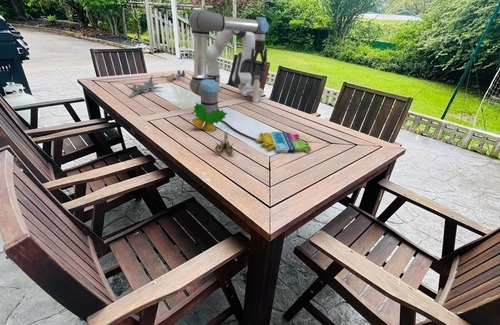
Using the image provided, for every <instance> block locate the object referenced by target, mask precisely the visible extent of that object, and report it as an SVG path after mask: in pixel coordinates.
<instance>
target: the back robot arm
mask: <svg viewBox="0 0 500 325" xmlns="http://www.w3.org/2000/svg"><path fill="white" fill-rule="evenodd" d="M255 34H256V33H255V32H245V31H232V30H223V31H218V32H217V34H216V36H215V38H214V41H213V43H212V44H211V45H207V76H208V77H209V80H213V81H215V82H216V83H217V85H218V92H220V91H222V87H221V80H220V79H221V75H220V65H219V62H218V61H219V60H218V58H220V57H221V56H222V55H223V52H224V51H225V48H226V47H227V45H228V43H229V42H230V40H231V39H232V38H233V37H234V36H235V37H238V38H240V39H242V48H241V50H240V52H239V53H238V54H237V57H236V61H235V65H234V69H233V73H232V76H231V81H232V83H233V84H234V85H238V86H237V88H238V90H239V91H238V92H239V93H240V94H241V96H244V97H251V96H253V95H254V94H253V83H254V77H253V75H252V73H251V72H241V68H242V64H243V63H244V62H245V61H246V60H248V59H251V52H252V51H251V49H253V48H255V40H256V39H255ZM254 54H255V51H254ZM264 92H265V90H264V89H263V88H261V87H260V90H259V96H261V95H264Z"/></svg>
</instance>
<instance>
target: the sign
mask: <svg viewBox="0 0 500 325" xmlns="http://www.w3.org/2000/svg"><path fill="white" fill-rule="evenodd" d="M299 136H300V135H299V134H298V133H296V134H294V133H291V132H287V131H270V132H264V133H263V132H260V133H259V139H258V138H256V139H257V141H255V142H256V143H257V144H261V148H263V147H264V148H265V149H267V151H268V152H271V151H272V150H273V149H275V152H276V153H283V154H285V153H287V154H288V153H290V154H293V153H296V152H298V153H301V152H305V153H310V151H311V150H312V149H311V148H312V146H309V142H304V141H303V139H302V138H299ZM260 142H263V143H260Z"/></svg>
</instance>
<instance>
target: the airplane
mask: <svg viewBox="0 0 500 325" xmlns="http://www.w3.org/2000/svg"><path fill="white" fill-rule="evenodd" d="M153 78H154V75H153V74H151V76H150V78H149V80H148V81H147V82H146V81H144V82H143V85H142V84H134V83H129V84H128V85H130V86H132V87H131V89H133V91H132V92H131V93H130V94H129V95H128V96H127V98H129V97H130V98H131V97H135V96H137V95H139V94H141V93H148V92H150V91H151V90H152V92H154V91H156V90H157V89H163V88H164V87H162V86H157V85H158V83H154V82H153ZM155 85H156V86H155Z"/></svg>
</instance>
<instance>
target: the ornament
mask: <svg viewBox="0 0 500 325" xmlns="http://www.w3.org/2000/svg"><path fill="white" fill-rule="evenodd" d="M219 110H220V108H219V109H217V110H216V111H214V110H212V112H211V113H208V112H206V109H204V106H201V103H198V102H195V105H194V106H193V112H194V113H195V118H192V119H191V122H192V123H193V125H195V127H197V128H198V129H202V130H203V131H206V132H212V131H213V132H214V131H215V130H216V126H215V124H218V123H219V122H222V120H223V119H226V115H227V114H228V113H227V112H224V110H223V109H221V110H220V111H219ZM207 113H208V115H207ZM214 123H215V124H214ZM222 123H223V122H222Z"/></svg>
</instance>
